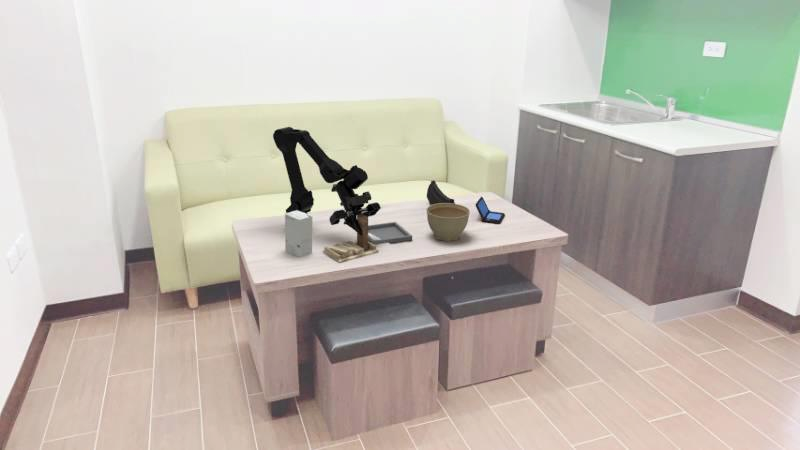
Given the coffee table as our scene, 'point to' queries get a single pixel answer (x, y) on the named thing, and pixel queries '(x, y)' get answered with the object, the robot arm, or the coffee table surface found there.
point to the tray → (388, 233)
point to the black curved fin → (437, 195)
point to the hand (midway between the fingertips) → (364, 234)
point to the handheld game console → (488, 213)
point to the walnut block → (363, 239)
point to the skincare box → (298, 233)
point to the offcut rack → (357, 251)
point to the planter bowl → (447, 220)
